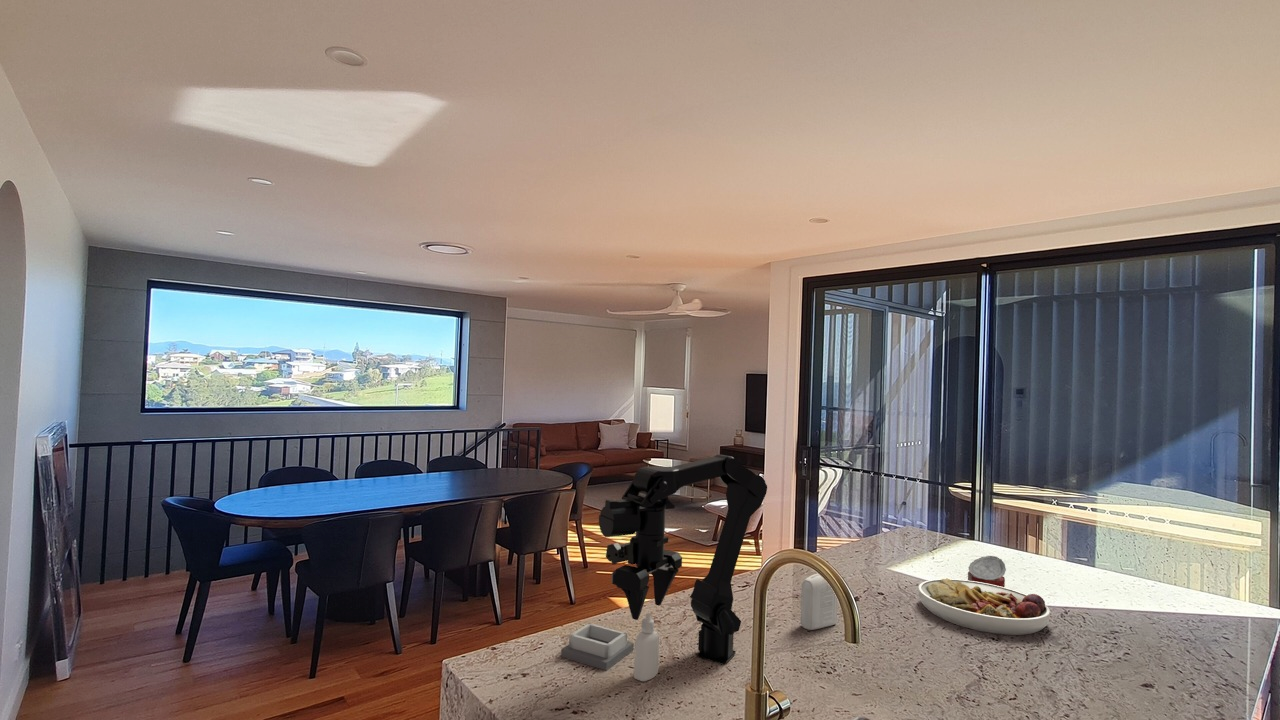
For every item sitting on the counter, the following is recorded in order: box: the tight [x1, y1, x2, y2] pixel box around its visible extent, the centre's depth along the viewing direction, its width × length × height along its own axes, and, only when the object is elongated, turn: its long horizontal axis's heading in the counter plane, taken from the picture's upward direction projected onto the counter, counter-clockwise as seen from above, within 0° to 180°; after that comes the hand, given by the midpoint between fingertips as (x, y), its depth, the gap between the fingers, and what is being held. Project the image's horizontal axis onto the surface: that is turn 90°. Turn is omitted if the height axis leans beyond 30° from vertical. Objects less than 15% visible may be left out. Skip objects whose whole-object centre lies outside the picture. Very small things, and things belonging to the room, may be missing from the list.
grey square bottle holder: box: [560, 622, 635, 671], centre depth 127 cm, size 11×11×4 cm
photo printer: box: [800, 573, 839, 631], centre depth 148 cm, size 10×4×12 cm, turn 123°
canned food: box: [967, 555, 1007, 588], centre depth 185 cm, size 11×10×10 cm
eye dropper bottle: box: [633, 612, 660, 682], centre depth 118 cm, size 4×6×12 cm
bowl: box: [917, 578, 1051, 636], centre depth 159 cm, size 30×30×8 cm
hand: (646, 611), depth 119 cm, fingers open, 9 cm apart
